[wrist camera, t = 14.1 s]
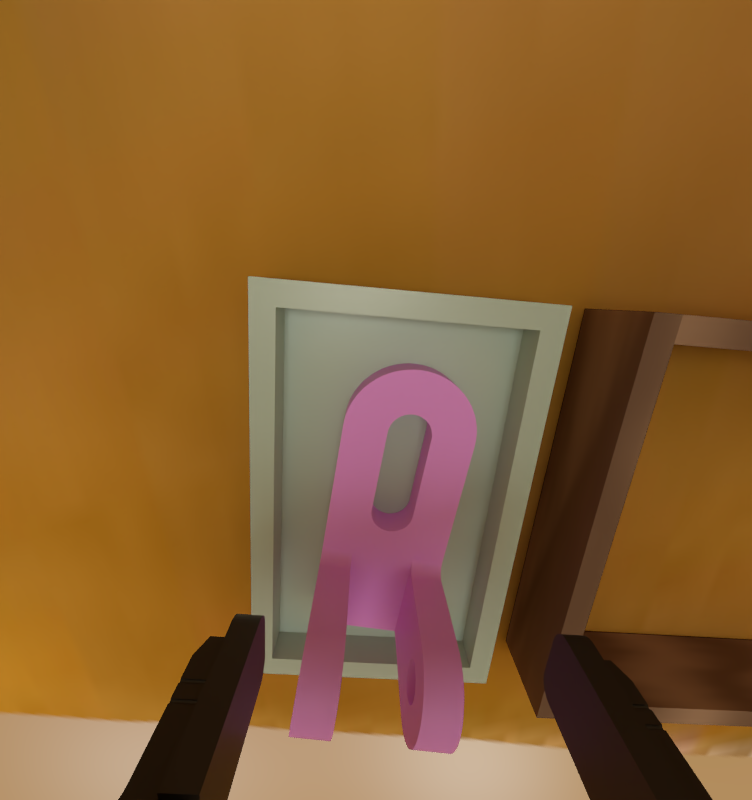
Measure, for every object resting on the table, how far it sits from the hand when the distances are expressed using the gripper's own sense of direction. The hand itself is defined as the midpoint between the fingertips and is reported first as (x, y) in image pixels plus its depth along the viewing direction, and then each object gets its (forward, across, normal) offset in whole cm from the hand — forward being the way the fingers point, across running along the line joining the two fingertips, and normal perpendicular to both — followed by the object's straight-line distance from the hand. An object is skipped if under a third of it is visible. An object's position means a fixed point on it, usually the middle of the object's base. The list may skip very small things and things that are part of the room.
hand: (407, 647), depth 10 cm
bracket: (+8, 0, 0) cm, 8 cm away
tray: (+9, 0, 0) cm, 9 cm away
